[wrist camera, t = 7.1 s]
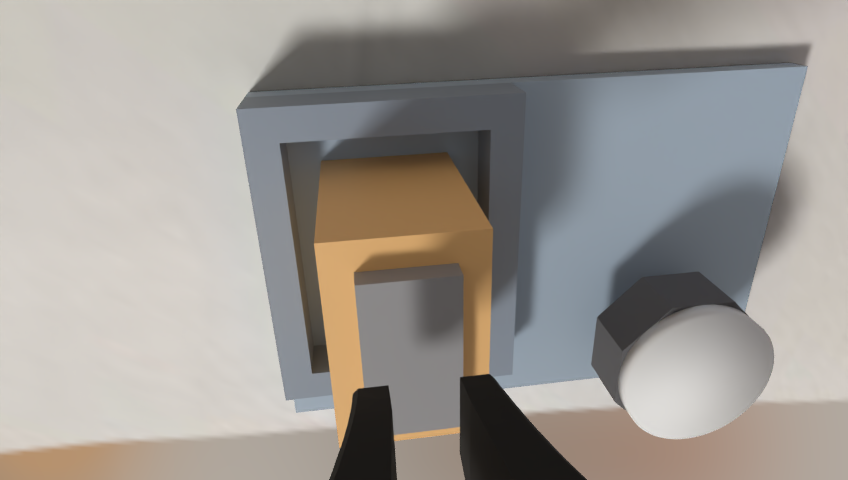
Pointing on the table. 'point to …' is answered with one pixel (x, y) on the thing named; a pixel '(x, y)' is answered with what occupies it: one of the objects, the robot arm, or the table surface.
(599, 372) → the wheel
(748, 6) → the table surface
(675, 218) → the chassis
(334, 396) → the tan oblong block
